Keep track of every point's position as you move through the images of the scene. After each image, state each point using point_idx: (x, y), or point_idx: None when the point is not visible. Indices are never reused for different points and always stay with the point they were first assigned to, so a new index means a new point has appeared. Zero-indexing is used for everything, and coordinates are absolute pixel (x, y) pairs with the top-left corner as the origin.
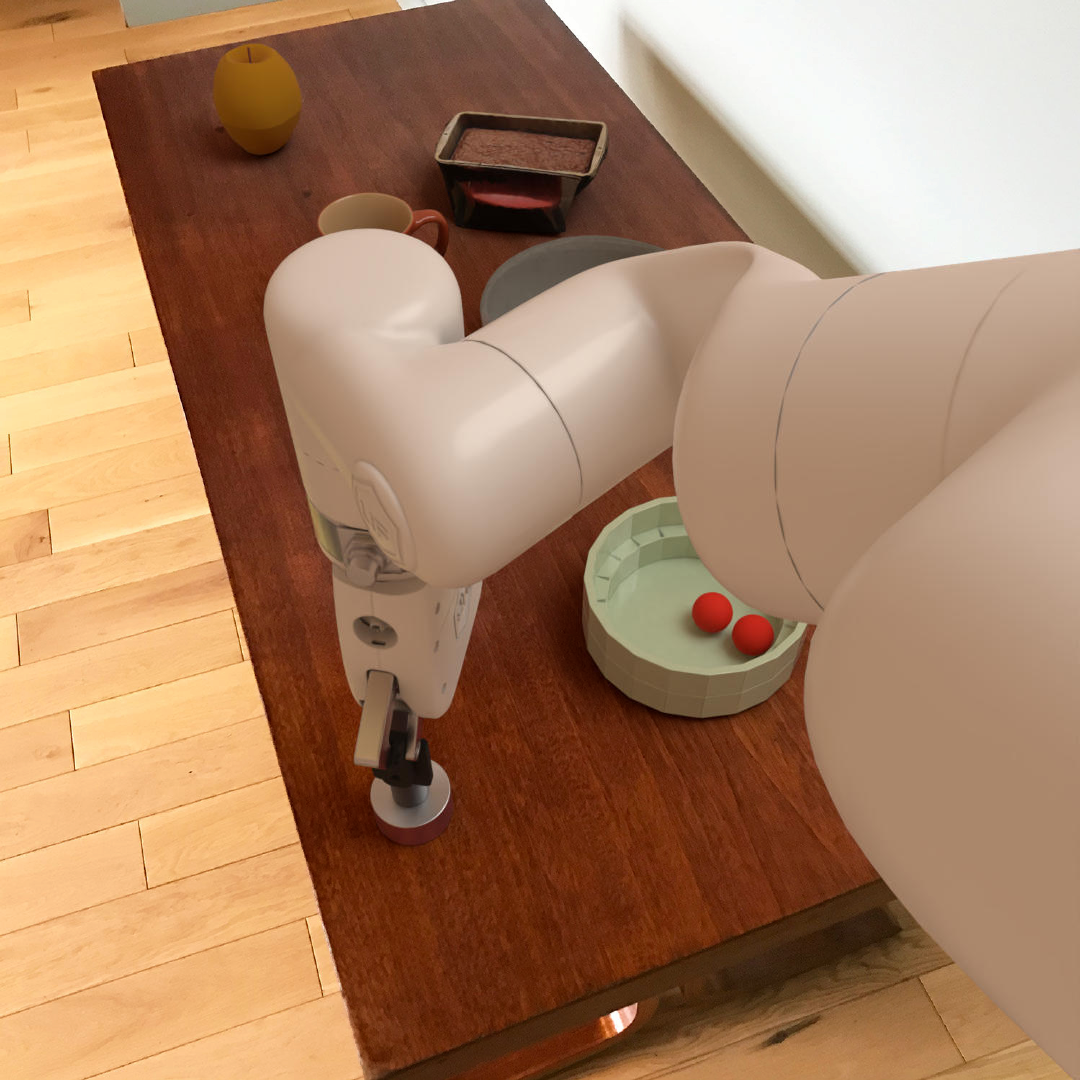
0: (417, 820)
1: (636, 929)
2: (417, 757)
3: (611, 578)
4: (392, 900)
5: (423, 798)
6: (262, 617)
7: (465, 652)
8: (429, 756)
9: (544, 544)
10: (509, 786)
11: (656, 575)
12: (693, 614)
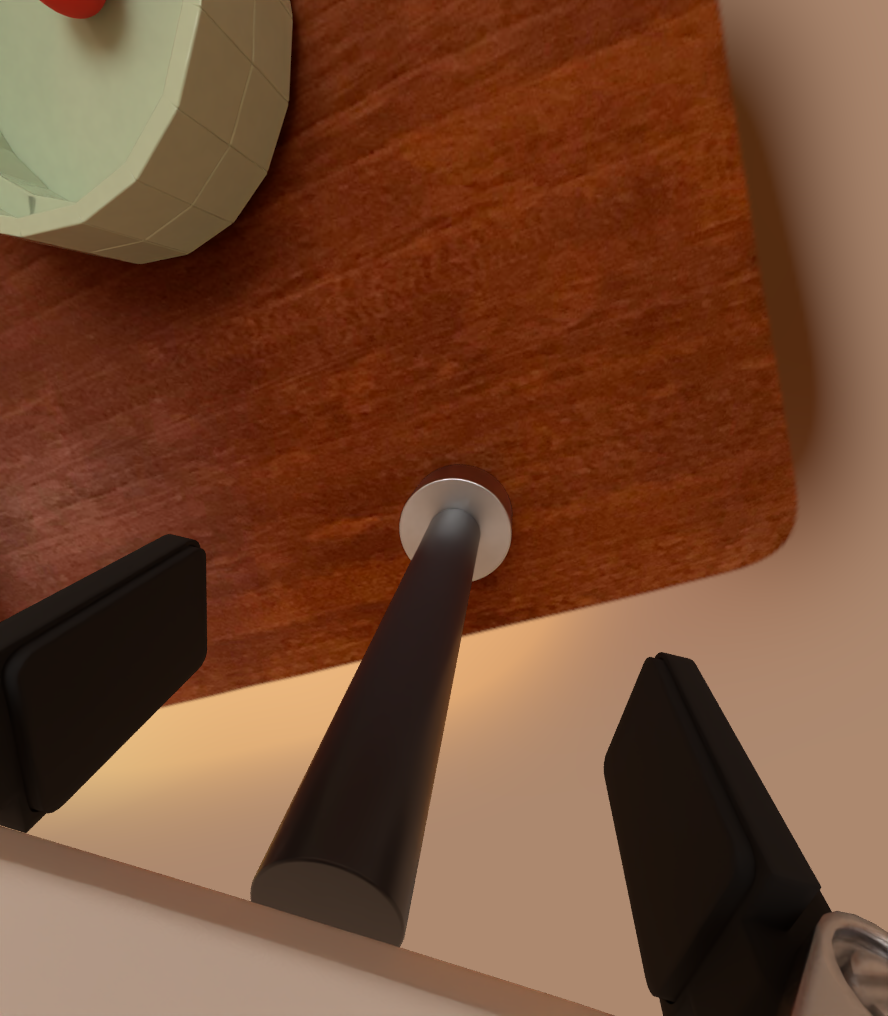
0: (501, 523)
1: (678, 172)
2: (882, 936)
3: (30, 192)
4: (584, 537)
5: (470, 517)
6: (214, 682)
7: (317, 970)
8: (725, 763)
9: (19, 330)
10: (427, 385)
11: (17, 113)
12: (69, 5)
